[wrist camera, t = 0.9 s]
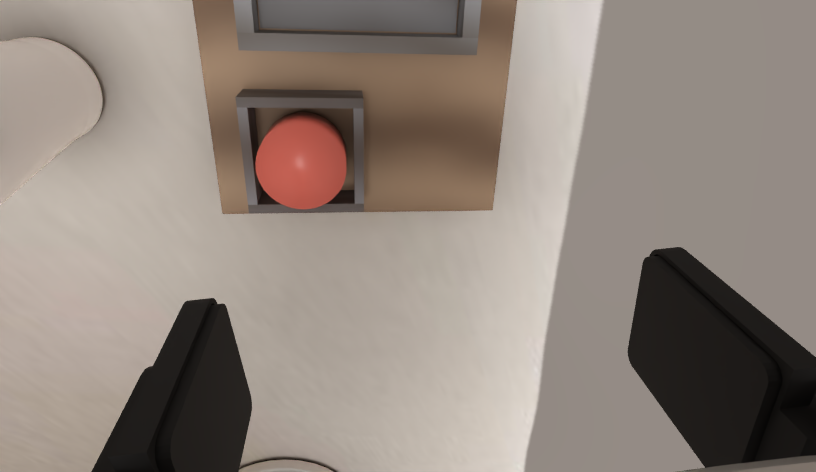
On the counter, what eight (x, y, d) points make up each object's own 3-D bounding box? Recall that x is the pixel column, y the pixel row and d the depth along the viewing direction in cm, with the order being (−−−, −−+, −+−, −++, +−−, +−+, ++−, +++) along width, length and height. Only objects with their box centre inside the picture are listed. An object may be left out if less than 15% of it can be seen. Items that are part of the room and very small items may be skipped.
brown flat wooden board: (484, 197, 33) (501, 224, 30) (229, 200, 32) (214, 228, 28) (533, -251, 23) (566, -291, 20) (165, -283, 22) (129, -333, 18)
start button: (347, 191, 29) (347, 208, 27) (266, 192, 28) (259, 209, 26) (345, 112, 27) (345, 124, 25) (258, 111, 26) (250, 123, 24)
